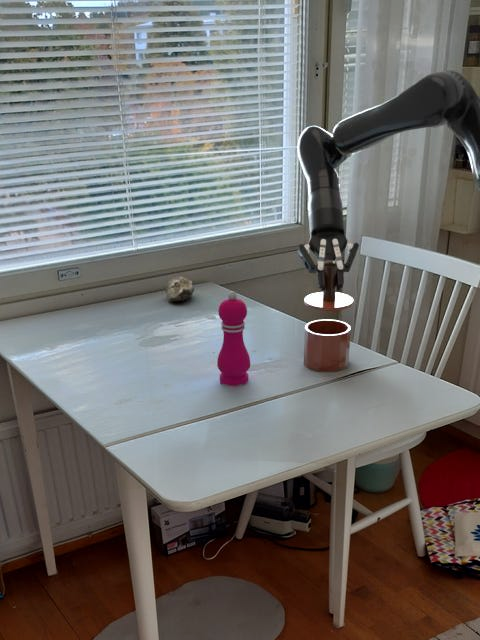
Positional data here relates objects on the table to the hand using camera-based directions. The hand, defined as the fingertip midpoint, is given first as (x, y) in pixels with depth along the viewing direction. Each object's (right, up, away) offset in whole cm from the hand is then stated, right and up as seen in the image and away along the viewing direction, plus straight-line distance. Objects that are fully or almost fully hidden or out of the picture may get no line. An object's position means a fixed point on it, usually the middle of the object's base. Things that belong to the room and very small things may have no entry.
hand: (331, 288), depth 168 cm
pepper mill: (-21, -20, +4) cm, 29 cm away
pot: (0, -13, +12) cm, 18 cm away
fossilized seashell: (-36, +13, +52) cm, 64 cm away
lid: (0, -2, +4) cm, 4 cm away
